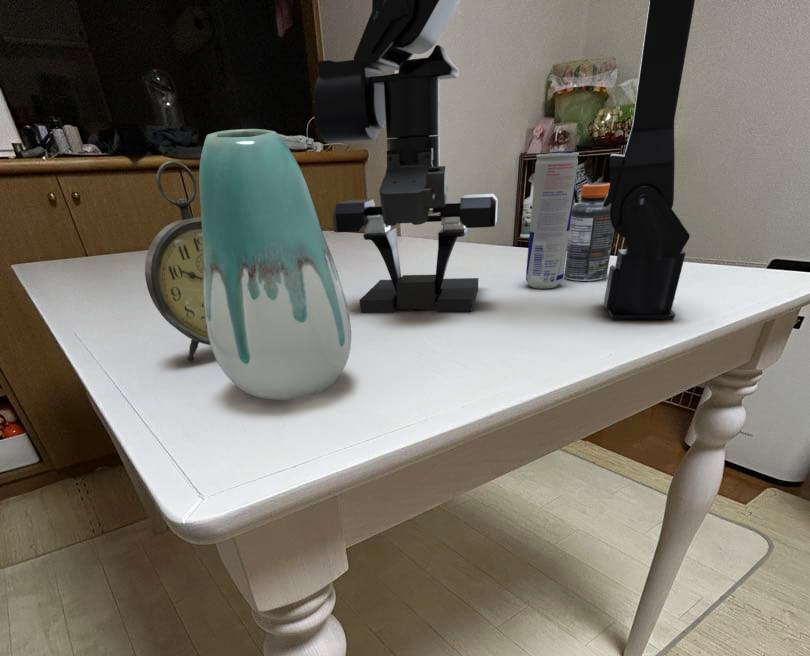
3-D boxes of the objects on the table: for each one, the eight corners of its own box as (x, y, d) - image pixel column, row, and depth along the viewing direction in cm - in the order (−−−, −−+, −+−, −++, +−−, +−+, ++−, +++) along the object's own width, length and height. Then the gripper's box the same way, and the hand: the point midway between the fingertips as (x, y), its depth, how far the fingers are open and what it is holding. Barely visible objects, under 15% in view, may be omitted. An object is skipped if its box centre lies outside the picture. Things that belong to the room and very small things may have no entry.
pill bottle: (601, 272, 77) (617, 180, 70) (610, 281, 72) (627, 183, 65) (560, 274, 77) (572, 182, 70) (566, 282, 72) (579, 185, 66)
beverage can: (564, 281, 73) (581, 149, 64) (560, 290, 69) (577, 150, 60) (527, 281, 74) (539, 152, 65) (522, 289, 70) (533, 153, 61)
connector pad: (438, 299, 67) (438, 274, 65) (433, 308, 63) (433, 282, 62) (404, 300, 68) (402, 275, 66) (397, 309, 64) (396, 282, 62)
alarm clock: (182, 369, 51) (109, 168, 40) (170, 355, 54) (100, 168, 44) (284, 342, 55) (241, 153, 45) (266, 331, 58) (223, 154, 48)
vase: (337, 414, 40) (296, 118, 29) (200, 411, 42) (114, 132, 31) (369, 364, 49) (347, 124, 38) (255, 363, 51) (203, 134, 40)
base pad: (478, 289, 72) (478, 277, 71) (471, 312, 62) (471, 298, 61) (381, 291, 74) (380, 279, 73) (360, 312, 65) (359, 299, 64)
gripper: (307, 143, 51) (329, 310, 60) (497, 130, 47) (489, 309, 57) (338, 143, 59) (353, 289, 69) (501, 132, 56) (493, 287, 66)
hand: (418, 293), depth 65 cm, fingers closed on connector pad, 5 cm apart
